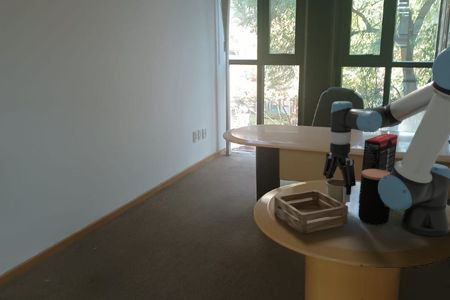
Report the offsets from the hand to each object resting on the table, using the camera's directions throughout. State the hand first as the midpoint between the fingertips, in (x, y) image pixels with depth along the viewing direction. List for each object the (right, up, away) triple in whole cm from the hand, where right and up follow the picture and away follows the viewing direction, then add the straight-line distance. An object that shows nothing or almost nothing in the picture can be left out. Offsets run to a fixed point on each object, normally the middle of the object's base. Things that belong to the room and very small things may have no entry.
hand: (337, 198), depth 155 cm
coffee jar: (+10, -7, -10) cm, 16 cm away
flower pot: (0, -2, +1) cm, 2 cm away
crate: (-13, -7, -9) cm, 17 cm away
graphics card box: (+18, -2, +8) cm, 19 cm away
